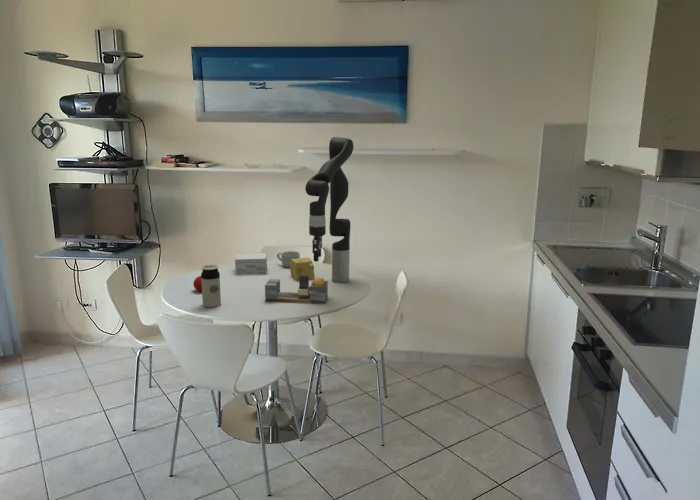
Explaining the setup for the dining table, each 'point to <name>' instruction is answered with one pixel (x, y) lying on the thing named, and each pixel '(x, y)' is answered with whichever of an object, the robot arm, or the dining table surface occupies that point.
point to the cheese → (302, 268)
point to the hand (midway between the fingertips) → (317, 258)
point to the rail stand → (295, 293)
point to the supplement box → (251, 264)
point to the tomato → (198, 284)
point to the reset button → (319, 282)
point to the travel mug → (210, 286)
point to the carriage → (303, 285)
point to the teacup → (288, 257)
